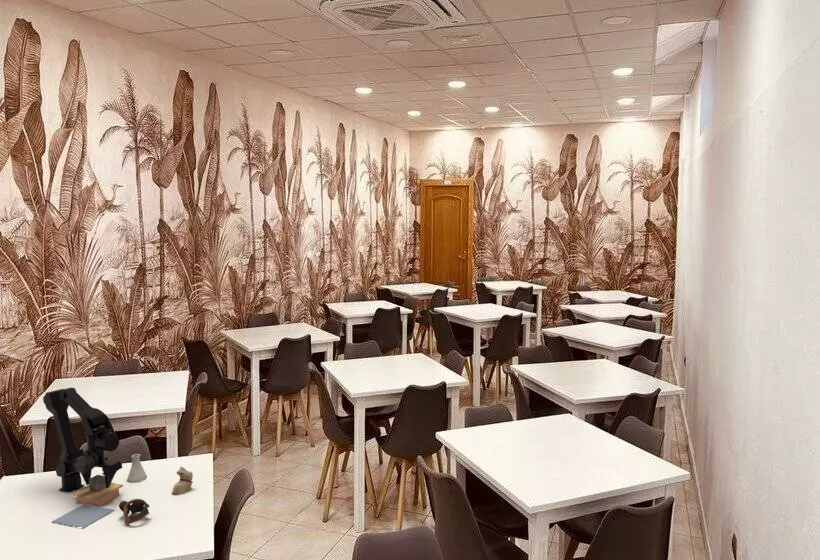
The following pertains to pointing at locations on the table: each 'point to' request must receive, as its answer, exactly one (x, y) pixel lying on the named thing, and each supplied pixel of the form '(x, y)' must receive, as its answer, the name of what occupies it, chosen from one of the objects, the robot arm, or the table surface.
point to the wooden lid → (97, 488)
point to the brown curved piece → (134, 510)
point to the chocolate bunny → (183, 482)
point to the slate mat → (83, 516)
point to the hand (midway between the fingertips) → (97, 486)
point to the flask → (136, 470)
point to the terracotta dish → (98, 502)
